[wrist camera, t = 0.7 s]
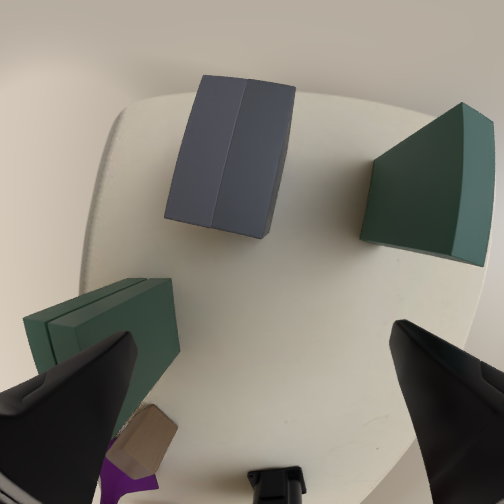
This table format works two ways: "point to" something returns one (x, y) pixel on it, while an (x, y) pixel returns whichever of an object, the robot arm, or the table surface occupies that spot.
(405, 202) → the green book
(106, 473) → the perfume bottle
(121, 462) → the wooden block
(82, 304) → the green book
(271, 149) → the charcoal book
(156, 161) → the table surface
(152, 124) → the table surface
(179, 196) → the charcoal book
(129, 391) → the green book
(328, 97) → the table surface
